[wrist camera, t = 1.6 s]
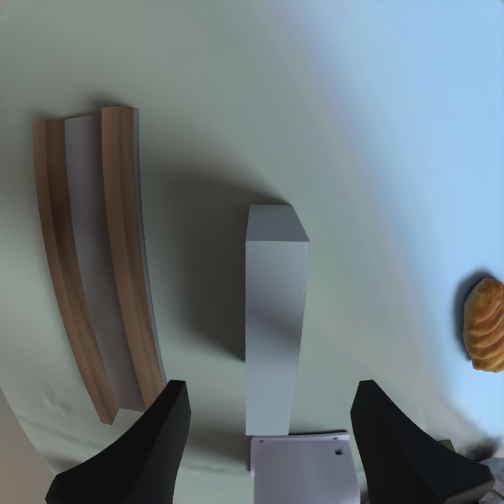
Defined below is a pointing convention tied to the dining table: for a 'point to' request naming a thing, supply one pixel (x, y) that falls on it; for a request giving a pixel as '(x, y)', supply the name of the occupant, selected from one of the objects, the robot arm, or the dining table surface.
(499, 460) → the decorative orb
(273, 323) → the door panel
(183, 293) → the dining table surface
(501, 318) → the pastry
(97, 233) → the floor track
